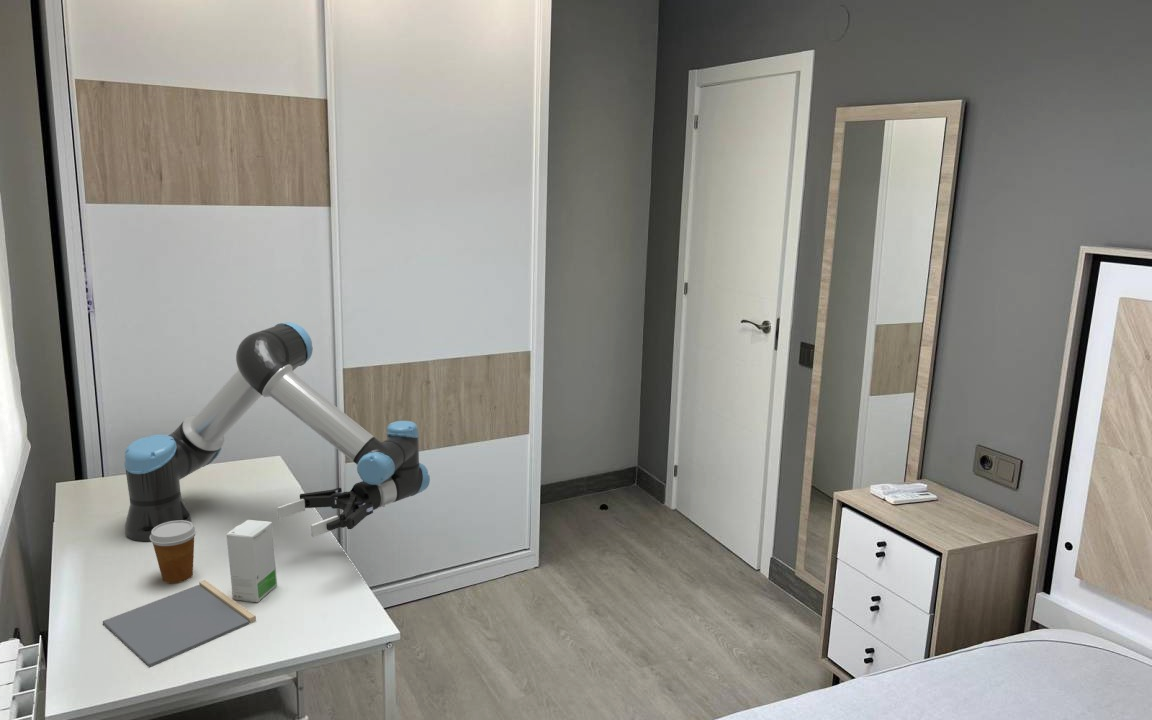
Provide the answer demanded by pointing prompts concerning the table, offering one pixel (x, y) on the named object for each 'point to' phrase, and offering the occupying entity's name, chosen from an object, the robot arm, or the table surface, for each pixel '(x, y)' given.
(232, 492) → the table surface
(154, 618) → the rubber mat
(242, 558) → the skincare box
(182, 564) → the disposable coffee cup
